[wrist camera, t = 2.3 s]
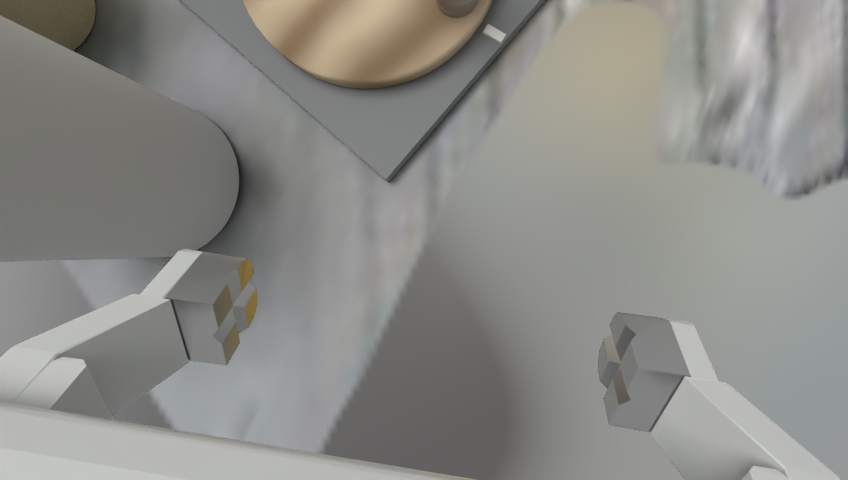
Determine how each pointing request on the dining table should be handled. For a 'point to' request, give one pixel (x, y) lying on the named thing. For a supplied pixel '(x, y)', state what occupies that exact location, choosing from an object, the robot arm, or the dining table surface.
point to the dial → (367, 36)
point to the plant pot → (53, 18)
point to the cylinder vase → (101, 161)
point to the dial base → (375, 107)
